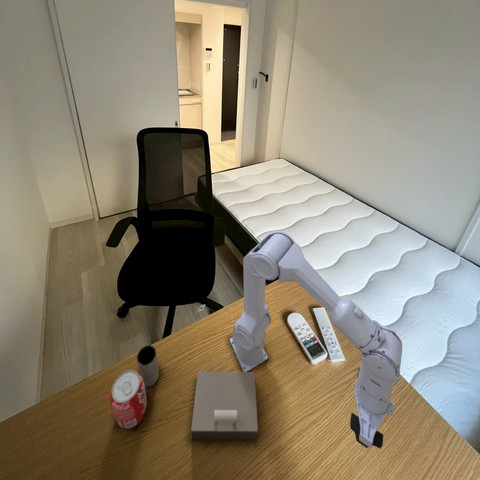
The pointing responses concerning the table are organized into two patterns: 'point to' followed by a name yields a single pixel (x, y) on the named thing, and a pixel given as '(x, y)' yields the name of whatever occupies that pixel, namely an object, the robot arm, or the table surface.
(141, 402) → the soda can
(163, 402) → the table surface
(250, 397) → the lid
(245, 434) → the dark grey open box
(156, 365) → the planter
